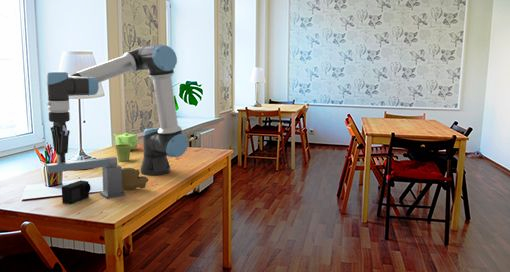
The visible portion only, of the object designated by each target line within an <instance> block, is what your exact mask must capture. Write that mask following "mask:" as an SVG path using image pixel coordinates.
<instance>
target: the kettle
mask: <svg viewBox="0 0 510 272" xmlns="http://www.w3.org/2000/svg"><path fill="white" fill-rule="evenodd" d="M112 135H113V136H114V137H115V145H119V144H130V145H132V147H131V150H130V151H134V150H135V148H137V147H138V140H139V137H138V135H137V134H130V133H128V132H124V133H121V134H115V133H114V134H113V133H112Z"/></svg>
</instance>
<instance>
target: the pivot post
mask: <svg viewBox="0 0 510 272" xmlns="http://www.w3.org/2000/svg"><path fill="white" fill-rule="evenodd" d="M101 168H102V169H101V170H102V190H101V191H99V194H100V195H101V196H103V197H104V198H105V199H111V198H112V199H113V198H118V197H123V196H124V197H125V196H126V192H124V191H123V189H122V166H121V165H120V164H117V165H116V166H106V167H101Z"/></svg>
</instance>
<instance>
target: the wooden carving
mask: <svg viewBox="0 0 510 272" xmlns="http://www.w3.org/2000/svg"><path fill="white" fill-rule="evenodd" d="M121 169H122V190H124V191H133V190H135V189H136V190H137V188H139V189H146V186H147V183H148V182H149V178H148V177H146V176H145V175H144V176H143V175H140V174H141V171H140V169H135V168H133V167H123V168H122V167H121Z"/></svg>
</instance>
